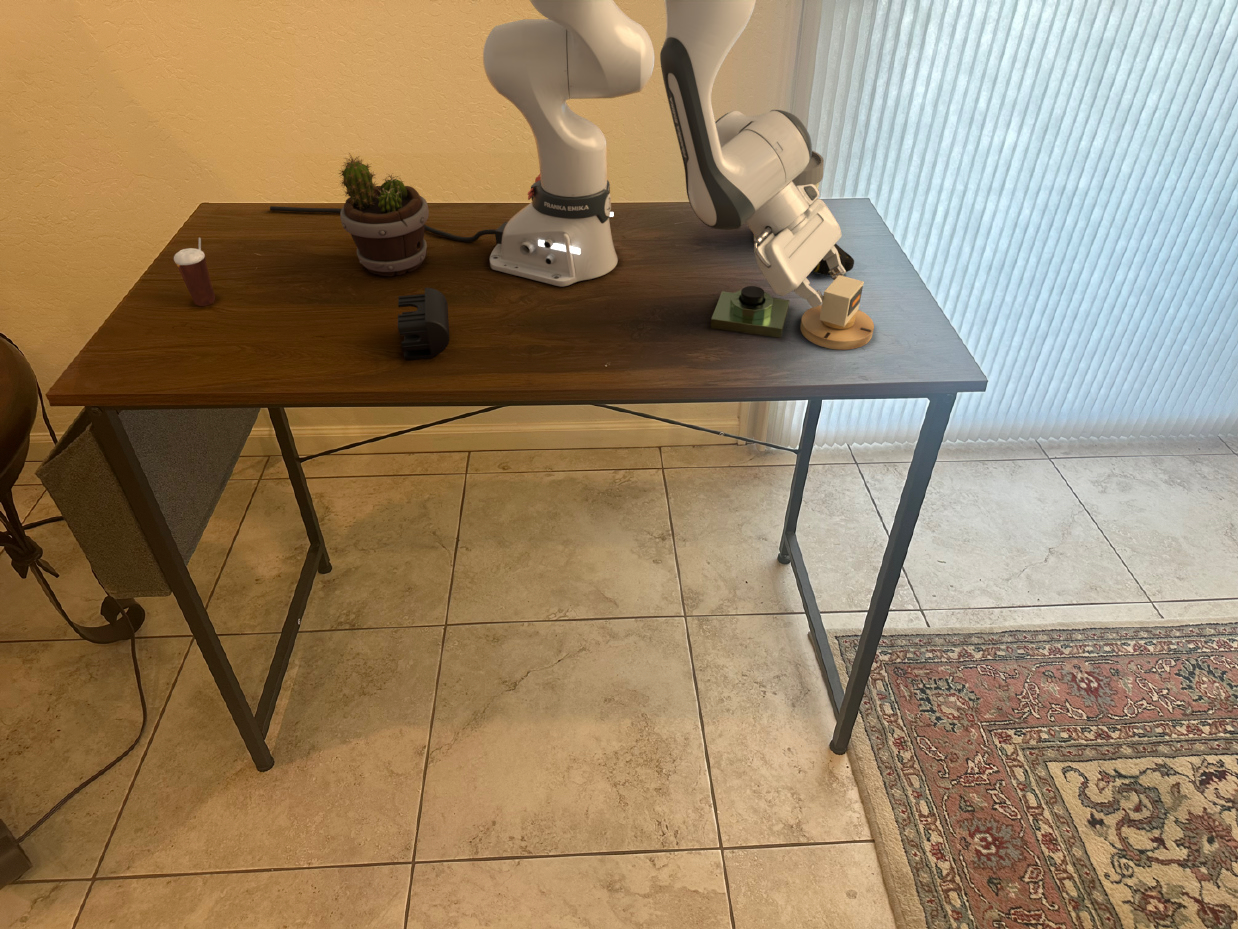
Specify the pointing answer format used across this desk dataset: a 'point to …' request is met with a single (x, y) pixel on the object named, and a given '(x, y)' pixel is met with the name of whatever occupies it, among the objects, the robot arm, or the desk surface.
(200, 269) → the milkshake
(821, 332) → the stand
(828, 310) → the tan cube with screen
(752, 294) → the button
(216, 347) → the desk surface
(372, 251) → the flowerpot
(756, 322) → the base
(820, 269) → the tape measure
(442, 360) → the desk surface
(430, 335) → the end cap
